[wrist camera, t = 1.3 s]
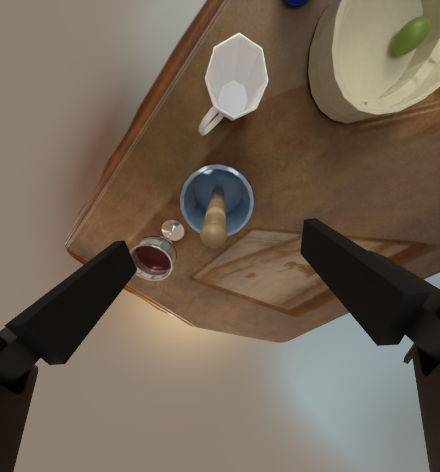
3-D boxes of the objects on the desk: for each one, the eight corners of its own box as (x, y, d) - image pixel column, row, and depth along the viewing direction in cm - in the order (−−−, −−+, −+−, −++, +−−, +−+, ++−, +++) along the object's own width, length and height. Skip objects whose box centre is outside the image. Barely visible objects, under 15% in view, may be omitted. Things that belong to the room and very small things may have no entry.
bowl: (314, -30, 19) (351, -106, 13) (463, -63, 18) (570, -161, 12) (301, 130, 26) (322, 123, 20) (406, 114, 25) (458, 102, 19)
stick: (211, 186, 29) (196, 230, 12) (223, 185, 29) (225, 226, 11) (213, 198, 30) (201, 254, 13) (224, 196, 30) (228, 251, 12)
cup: (264, 103, 24) (282, 80, 17) (217, 154, 27) (216, 152, 20) (234, 58, 22) (240, 9, 15) (187, 118, 25) (174, 102, 18)
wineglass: (167, 247, 36) (144, 285, 25) (151, 222, 33) (117, 253, 23) (193, 238, 35) (181, 273, 24) (178, 210, 32) (157, 237, 21)
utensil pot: (187, 167, 28) (171, 171, 19) (242, 159, 28) (252, 159, 19) (197, 218, 33) (188, 241, 24) (246, 212, 32) (255, 233, 23)
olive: (390, 30, 20) (415, 10, 18) (414, 25, 20) (444, 5, 17) (382, 62, 22) (405, 48, 19) (405, 58, 21) (432, 43, 19)
